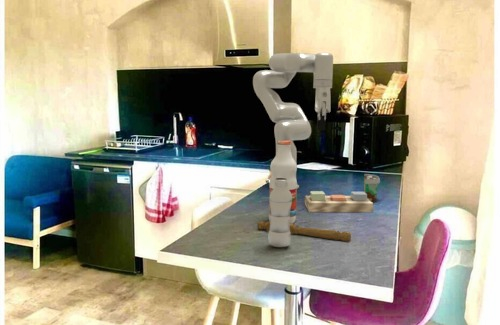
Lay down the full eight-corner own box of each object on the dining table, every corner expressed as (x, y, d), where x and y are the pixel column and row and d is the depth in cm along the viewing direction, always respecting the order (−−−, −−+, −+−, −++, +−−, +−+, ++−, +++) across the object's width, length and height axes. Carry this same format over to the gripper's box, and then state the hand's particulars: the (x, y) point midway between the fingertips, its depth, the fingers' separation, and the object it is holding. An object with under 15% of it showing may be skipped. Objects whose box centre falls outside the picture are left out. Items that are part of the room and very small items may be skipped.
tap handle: (349, 233, 136) (256, 221, 147) (348, 243, 136) (256, 230, 148) (351, 231, 139) (259, 219, 150) (350, 240, 139) (259, 228, 150)
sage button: (311, 203, 173) (312, 194, 173) (310, 199, 178) (310, 191, 178) (324, 203, 173) (325, 194, 173) (322, 200, 178) (323, 191, 178)
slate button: (353, 203, 173) (354, 194, 173) (350, 200, 178) (351, 191, 178) (366, 203, 174) (367, 194, 173) (363, 200, 178) (363, 191, 178)
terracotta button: (332, 206, 174) (333, 197, 173) (330, 203, 178) (330, 194, 178) (345, 206, 174) (346, 198, 173) (342, 203, 179) (343, 195, 178)
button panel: (309, 212, 170) (309, 202, 170) (304, 204, 182) (305, 195, 181) (372, 212, 170) (373, 203, 170) (364, 204, 182) (364, 196, 182)
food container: (380, 204, 183) (381, 179, 182) (364, 203, 185) (365, 179, 183) (378, 197, 195) (379, 174, 194) (363, 196, 197) (364, 173, 195)
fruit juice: (272, 216, 164) (274, 139, 160) (298, 218, 161) (300, 140, 157) (265, 223, 155) (267, 141, 151) (292, 226, 152) (295, 143, 148)
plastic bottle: (266, 242, 135) (267, 176, 132) (289, 242, 136) (290, 176, 133) (269, 250, 129) (270, 181, 126) (292, 249, 130) (294, 181, 126)
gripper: (335, 84, 176) (333, 131, 179) (328, 84, 191) (326, 128, 194) (316, 84, 176) (314, 131, 179) (310, 84, 191) (309, 128, 194)
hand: (321, 129), depth 186 cm, fingers closed
